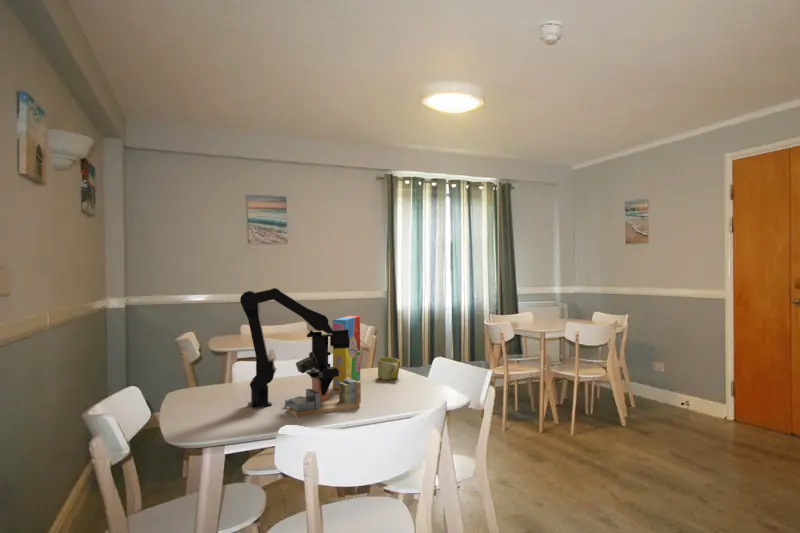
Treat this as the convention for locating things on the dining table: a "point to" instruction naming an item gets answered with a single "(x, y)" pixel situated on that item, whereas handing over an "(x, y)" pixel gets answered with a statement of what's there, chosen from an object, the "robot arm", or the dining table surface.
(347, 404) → the wooden toy block set
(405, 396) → the dining table surface
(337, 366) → the game box
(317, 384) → the salmon orange block
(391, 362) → the mug
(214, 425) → the dining table surface
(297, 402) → the bookend
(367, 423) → the dining table surface
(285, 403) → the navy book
